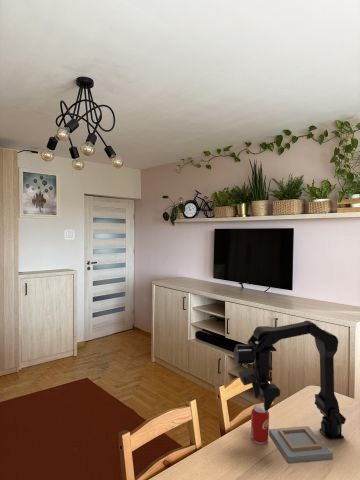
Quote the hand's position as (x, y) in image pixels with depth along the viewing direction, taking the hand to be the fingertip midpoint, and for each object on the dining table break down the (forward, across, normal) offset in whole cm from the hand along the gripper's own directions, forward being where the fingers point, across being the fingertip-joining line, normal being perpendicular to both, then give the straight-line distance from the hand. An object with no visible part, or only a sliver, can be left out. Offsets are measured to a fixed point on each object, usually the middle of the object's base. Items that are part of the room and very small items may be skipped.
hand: (261, 403), depth 127 cm
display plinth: (+14, +5, +13) cm, 19 cm away
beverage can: (+14, 0, 0) cm, 14 cm away
